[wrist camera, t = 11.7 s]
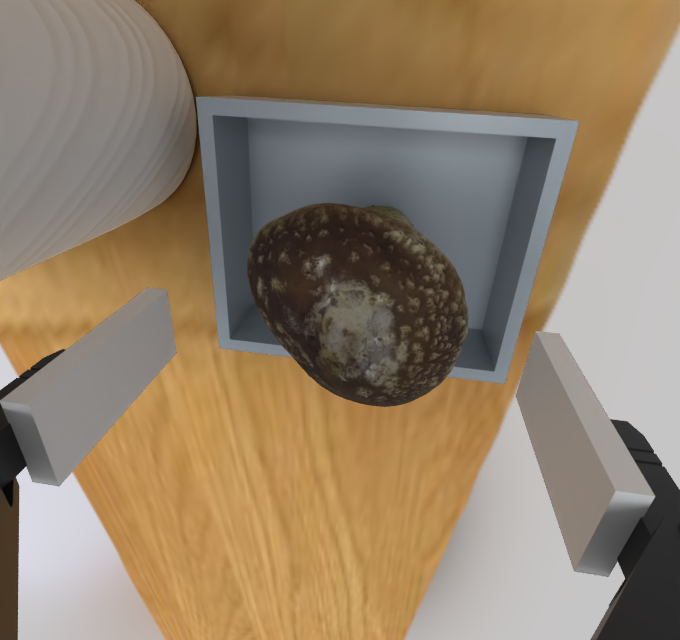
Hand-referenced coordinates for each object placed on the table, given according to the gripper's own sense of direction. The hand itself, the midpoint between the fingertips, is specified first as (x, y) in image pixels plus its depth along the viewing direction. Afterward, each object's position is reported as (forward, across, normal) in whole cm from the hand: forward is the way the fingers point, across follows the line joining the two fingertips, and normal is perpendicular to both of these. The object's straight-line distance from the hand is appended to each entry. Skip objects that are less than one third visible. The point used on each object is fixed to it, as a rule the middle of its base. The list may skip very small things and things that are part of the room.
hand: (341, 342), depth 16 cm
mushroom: (+16, 0, 0) cm, 16 cm away
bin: (+16, 0, 0) cm, 16 cm away
